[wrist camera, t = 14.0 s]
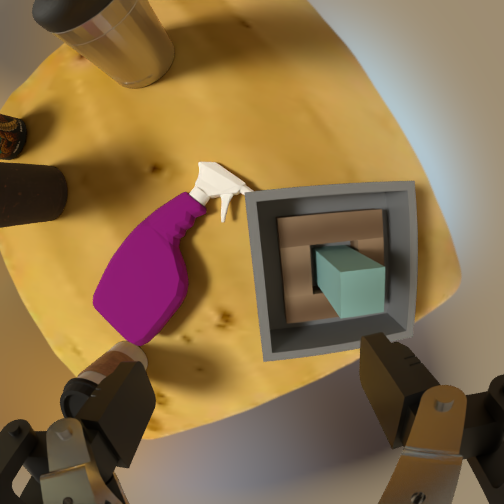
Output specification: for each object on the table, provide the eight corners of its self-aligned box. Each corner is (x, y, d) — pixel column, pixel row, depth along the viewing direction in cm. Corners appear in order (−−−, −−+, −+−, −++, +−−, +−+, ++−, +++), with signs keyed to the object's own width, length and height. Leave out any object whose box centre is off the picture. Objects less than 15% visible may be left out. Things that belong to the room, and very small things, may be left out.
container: (44, 154, 33) (-58, 143, 14) (79, 181, 34) (-33, 178, 14) (24, 204, 35) (-74, 215, 15) (56, 233, 35) (-48, 260, 16)
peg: (312, 247, 34) (340, 272, 22) (344, 244, 34) (385, 266, 22) (314, 280, 35) (340, 318, 23) (345, 276, 35) (383, 311, 23)
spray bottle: (95, 296, 37) (197, 150, 35) (149, 349, 36) (265, 200, 34) (83, 298, 34) (190, 142, 32) (140, 356, 33) (263, 195, 31)
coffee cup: (105, 369, 39) (59, 426, 24) (107, 325, 38) (50, 377, 23) (153, 387, 39) (118, 454, 25) (159, 344, 38) (117, 410, 23)
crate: (247, 194, 34) (244, 192, 27) (387, 183, 33) (414, 180, 27) (262, 334, 37) (263, 361, 30) (390, 315, 37) (412, 336, 30)
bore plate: (275, 216, 34) (277, 218, 31) (372, 208, 33) (381, 209, 30) (284, 313, 36) (286, 323, 33) (374, 301, 35) (383, 309, 32)
